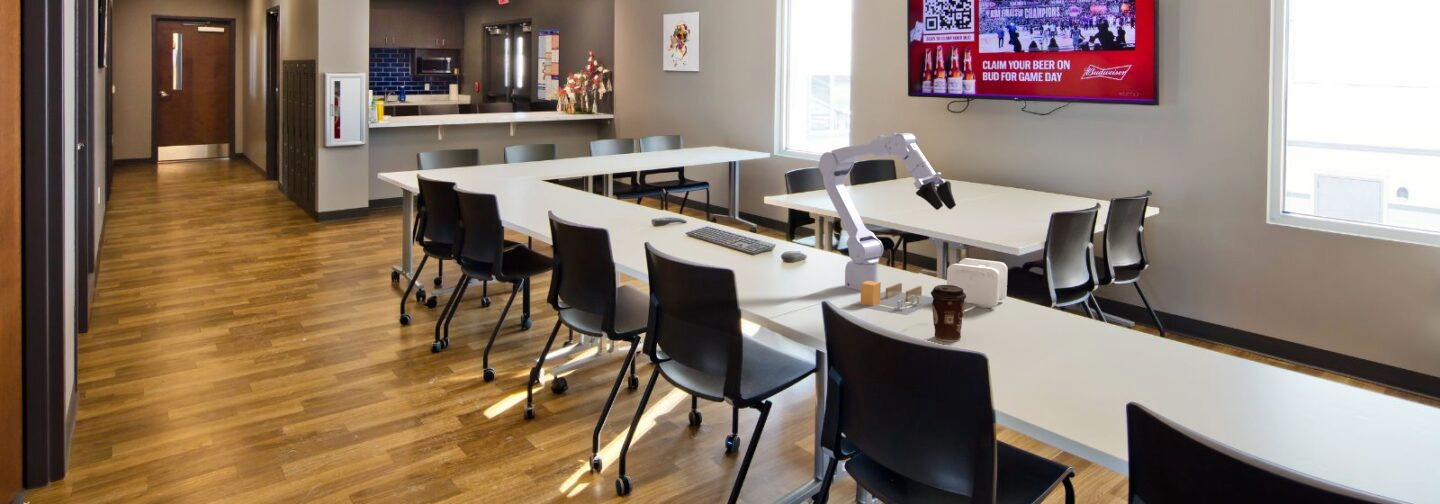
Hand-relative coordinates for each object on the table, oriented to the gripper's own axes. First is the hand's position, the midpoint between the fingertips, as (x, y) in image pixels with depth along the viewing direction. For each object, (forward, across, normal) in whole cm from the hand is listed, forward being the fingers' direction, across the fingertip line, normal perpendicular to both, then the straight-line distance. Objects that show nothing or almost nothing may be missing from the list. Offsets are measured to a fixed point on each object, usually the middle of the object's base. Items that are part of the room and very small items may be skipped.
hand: (946, 207), depth 256 cm
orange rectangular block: (+11, -10, +31) cm, 34 cm away
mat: (+14, -4, +27) cm, 31 cm away
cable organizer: (+24, +13, +14) cm, 31 cm away
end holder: (+12, +2, +27) cm, 30 cm away
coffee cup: (+33, -25, +9) cm, 43 cm away
